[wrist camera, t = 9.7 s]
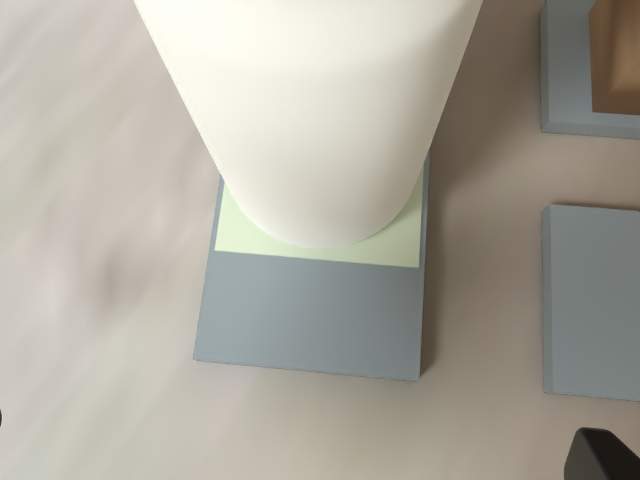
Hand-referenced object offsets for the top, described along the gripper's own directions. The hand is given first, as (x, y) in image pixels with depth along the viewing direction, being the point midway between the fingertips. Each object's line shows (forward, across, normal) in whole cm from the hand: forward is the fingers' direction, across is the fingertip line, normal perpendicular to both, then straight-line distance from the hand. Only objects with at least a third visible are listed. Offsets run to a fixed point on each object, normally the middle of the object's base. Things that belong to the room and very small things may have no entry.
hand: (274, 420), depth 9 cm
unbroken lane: (+13, 0, +1) cm, 13 cm away
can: (+12, 0, 0) cm, 12 cm away
